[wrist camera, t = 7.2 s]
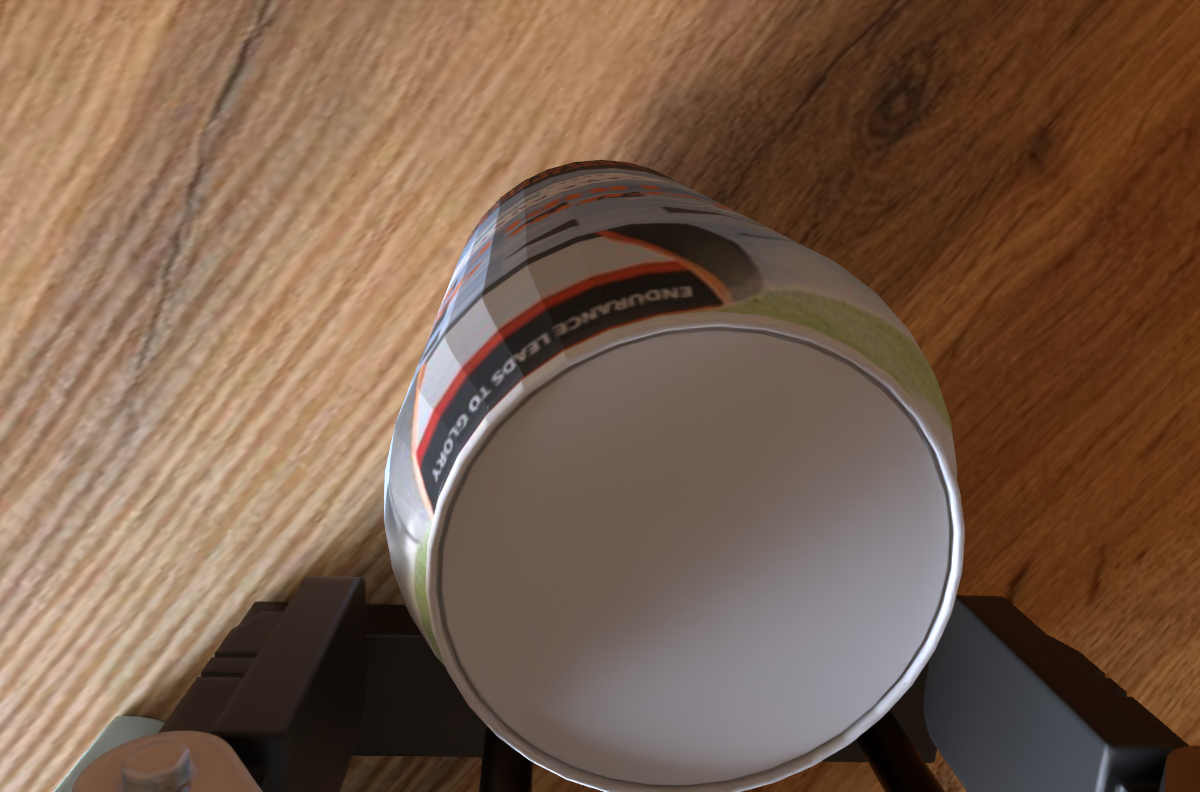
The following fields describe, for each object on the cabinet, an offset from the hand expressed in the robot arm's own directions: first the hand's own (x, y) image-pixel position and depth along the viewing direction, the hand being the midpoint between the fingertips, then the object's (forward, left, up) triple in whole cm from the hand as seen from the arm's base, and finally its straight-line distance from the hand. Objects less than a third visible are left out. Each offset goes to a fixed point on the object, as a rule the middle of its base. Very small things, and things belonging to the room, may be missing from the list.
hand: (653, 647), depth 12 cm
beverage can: (-3, 0, -8) cm, 9 cm away
